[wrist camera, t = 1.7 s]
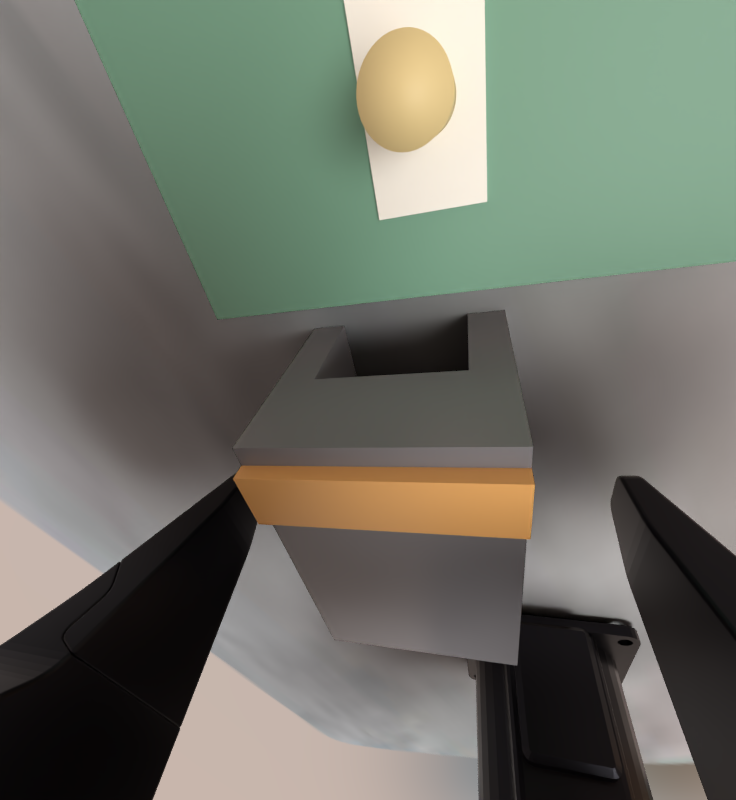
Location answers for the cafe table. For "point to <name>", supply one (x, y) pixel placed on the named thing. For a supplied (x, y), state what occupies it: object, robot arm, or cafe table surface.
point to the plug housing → (401, 493)
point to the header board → (428, 140)
